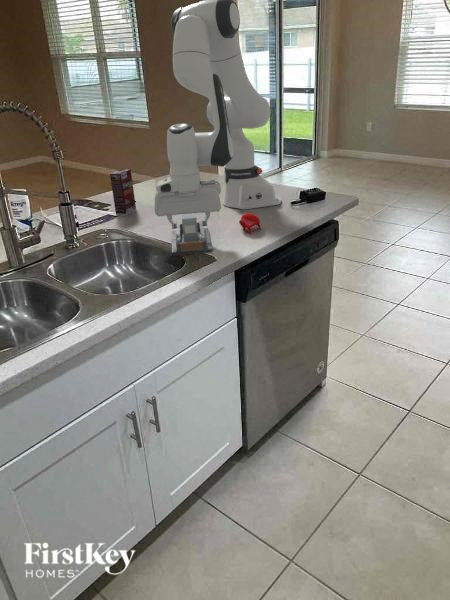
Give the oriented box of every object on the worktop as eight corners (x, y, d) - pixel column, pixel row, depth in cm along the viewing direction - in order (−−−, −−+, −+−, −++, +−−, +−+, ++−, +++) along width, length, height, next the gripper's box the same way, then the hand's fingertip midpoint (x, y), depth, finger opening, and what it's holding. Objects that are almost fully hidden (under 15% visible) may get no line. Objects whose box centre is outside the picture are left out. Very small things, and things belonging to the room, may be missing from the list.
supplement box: (127, 216, 178) (120, 173, 171) (115, 215, 180) (108, 173, 173) (137, 209, 186) (131, 168, 178) (126, 209, 187) (119, 168, 180)
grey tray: (208, 230, 158) (207, 220, 156) (212, 252, 140) (211, 241, 138) (172, 233, 157) (171, 223, 156) (172, 255, 139) (170, 244, 138)
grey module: (197, 235, 151) (195, 214, 148) (198, 242, 145) (196, 220, 142) (183, 236, 151) (181, 215, 148) (184, 244, 145) (182, 222, 142)
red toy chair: (245, 226, 150) (260, 214, 150) (234, 216, 153) (248, 204, 153) (252, 240, 156) (266, 228, 157) (242, 230, 160) (255, 219, 160)
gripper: (219, 177, 143) (222, 221, 150) (152, 182, 142) (157, 226, 149) (221, 182, 138) (223, 227, 144) (151, 187, 137) (157, 233, 143)
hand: (189, 227), depth 146 cm, fingers open, 8 cm apart
